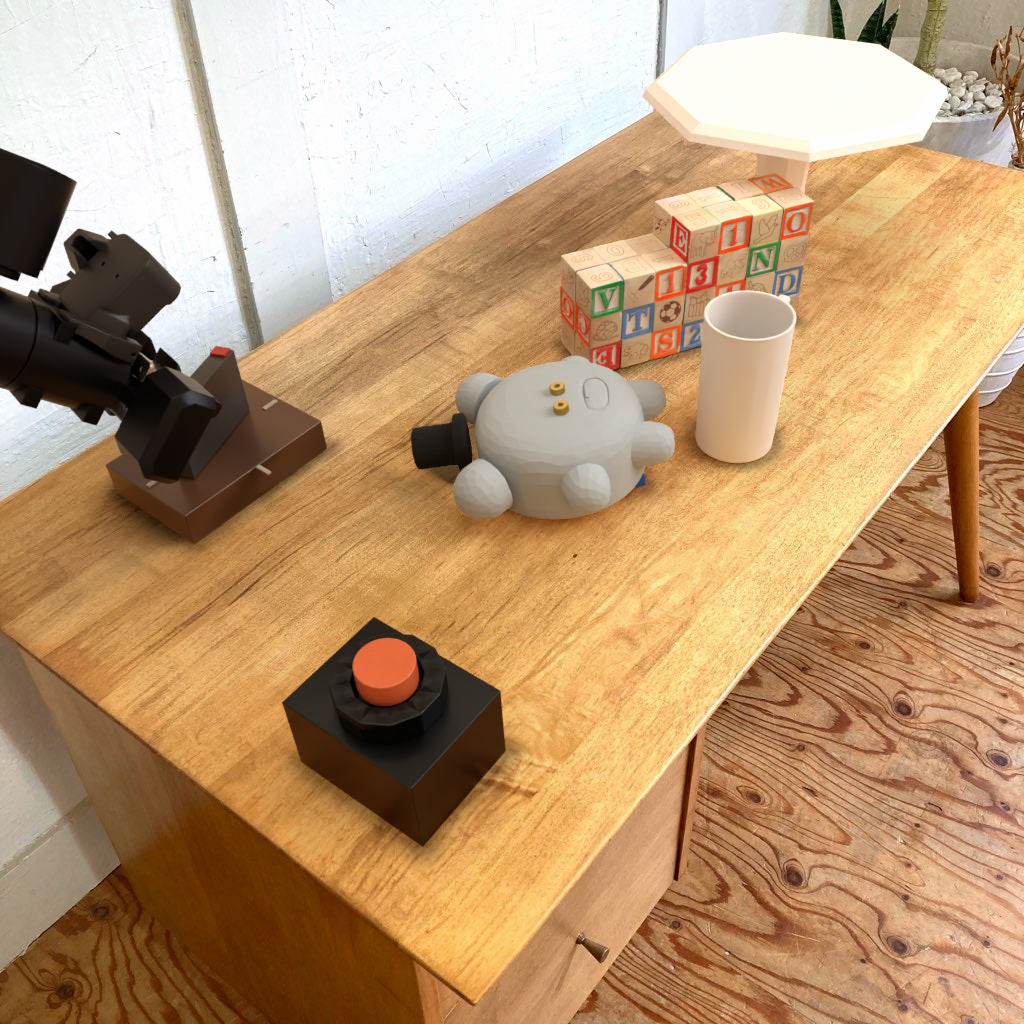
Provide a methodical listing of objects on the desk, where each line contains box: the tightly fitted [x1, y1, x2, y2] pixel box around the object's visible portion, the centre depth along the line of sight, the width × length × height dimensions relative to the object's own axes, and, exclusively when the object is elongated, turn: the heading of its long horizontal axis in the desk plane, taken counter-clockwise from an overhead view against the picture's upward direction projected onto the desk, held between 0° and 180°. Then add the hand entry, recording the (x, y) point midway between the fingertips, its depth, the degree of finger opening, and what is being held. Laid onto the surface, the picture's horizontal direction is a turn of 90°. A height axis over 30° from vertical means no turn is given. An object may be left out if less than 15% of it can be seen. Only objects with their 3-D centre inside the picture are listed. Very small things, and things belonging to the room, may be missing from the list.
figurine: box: [410, 355, 676, 521], centre depth 82 cm, size 17×8×20 cm
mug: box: [695, 290, 797, 464], centre depth 83 cm, size 10×7×12 cm, turn 139°
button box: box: [281, 616, 507, 847], centre depth 63 cm, size 10×8×8 cm
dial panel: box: [105, 379, 328, 545], centre depth 85 cm, size 14×13×3 cm
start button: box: [352, 638, 419, 706], centre depth 60 cm, size 4×4×2 cm
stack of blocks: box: [559, 173, 815, 371], centre depth 93 cm, size 21×6×12 cm, turn 112°
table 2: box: [641, 31, 949, 194], centre depth 103 cm, size 28×28×17 cm
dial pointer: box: [181, 345, 249, 479], centre depth 82 cm, size 9×2×6 cm, turn 162°
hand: (217, 409), depth 75 cm, fingers closed
